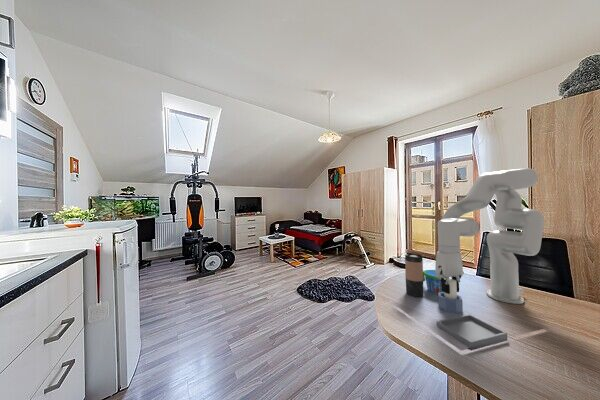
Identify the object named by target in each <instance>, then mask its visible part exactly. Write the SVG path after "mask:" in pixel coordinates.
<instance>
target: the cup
mask: <svg viewBox="0 0 600 400" xmlns="http://www.w3.org/2000/svg"><path fill="white" fill-rule="evenodd" d="M437 297H438V300H437V301H438V308H439V309H442V310H443V311H444V312H446V313H452V314H461V313H464V312H463V311H464V310H463V309H464V308H463V304H464V303H463V298H462V296H461V295H459V294H457V300H452V299H447V298H445V297H444V292H439V293H438V294H437Z"/></svg>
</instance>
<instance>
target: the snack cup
mask: <svg viewBox="0 0 600 400" xmlns="http://www.w3.org/2000/svg"><path fill="white" fill-rule="evenodd" d="M435 276H436V269H425V270H423V282H425V283H426V289H427V291H428V292H429V293H431V294H434V295H438V293H439V292H443V291H442V283H441V282H440V280H439V279H438V278H436V277H435ZM444 279H445V277H444ZM449 279H451V277H449Z"/></svg>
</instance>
